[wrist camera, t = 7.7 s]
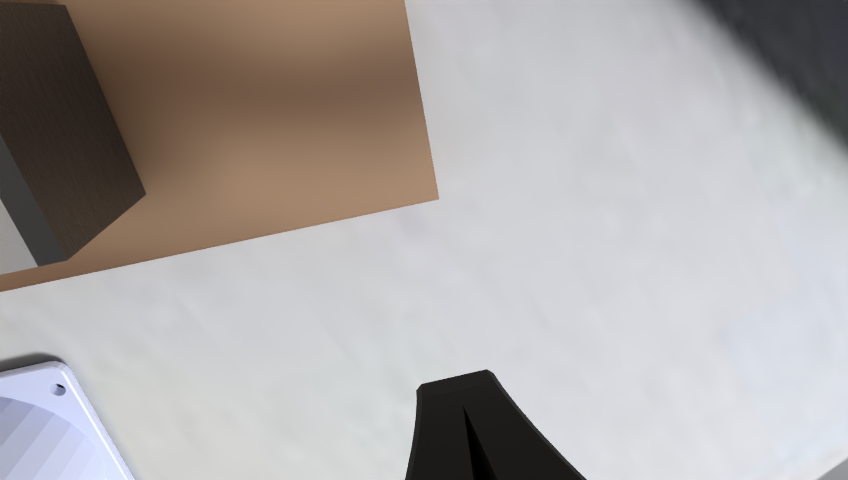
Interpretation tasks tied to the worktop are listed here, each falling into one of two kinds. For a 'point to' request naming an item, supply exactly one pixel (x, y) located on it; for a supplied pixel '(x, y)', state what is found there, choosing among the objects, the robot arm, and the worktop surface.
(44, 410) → the robot arm
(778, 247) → the worktop surface
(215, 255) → the worktop surface
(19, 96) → the gauge carriage
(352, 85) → the gauge board
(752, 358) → the worktop surface
